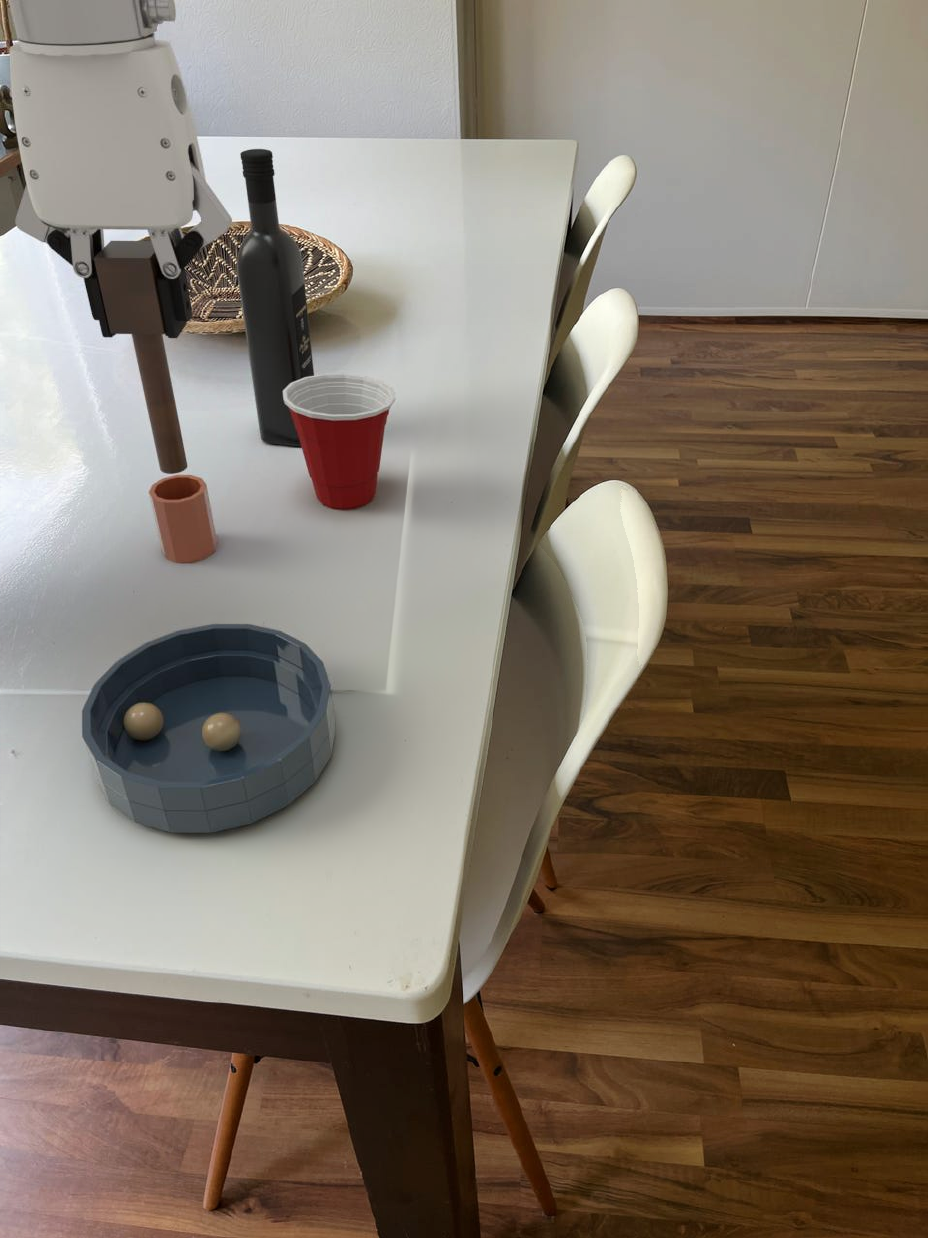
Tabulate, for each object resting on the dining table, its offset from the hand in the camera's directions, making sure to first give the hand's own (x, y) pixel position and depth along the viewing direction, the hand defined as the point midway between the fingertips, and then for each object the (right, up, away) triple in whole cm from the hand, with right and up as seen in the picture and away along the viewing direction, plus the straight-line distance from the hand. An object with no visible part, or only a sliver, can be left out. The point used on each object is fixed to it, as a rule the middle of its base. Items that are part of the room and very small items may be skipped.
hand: (145, 327), depth 67 cm
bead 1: (-2, -27, +6) cm, 28 cm away
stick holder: (-4, -13, +27) cm, 30 cm away
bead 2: (+4, -28, +5) cm, 29 cm away
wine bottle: (+2, +1, +46) cm, 46 cm away
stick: (0, -9, +7) cm, 11 cm away
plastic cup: (+10, -8, +35) cm, 37 cm away
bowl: (+3, -29, +6) cm, 30 cm away
